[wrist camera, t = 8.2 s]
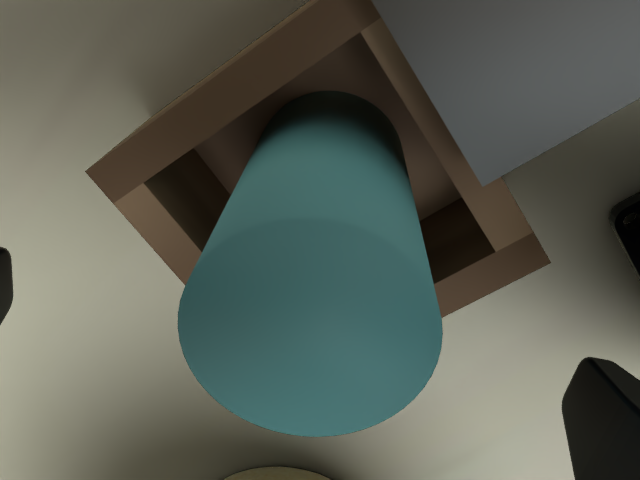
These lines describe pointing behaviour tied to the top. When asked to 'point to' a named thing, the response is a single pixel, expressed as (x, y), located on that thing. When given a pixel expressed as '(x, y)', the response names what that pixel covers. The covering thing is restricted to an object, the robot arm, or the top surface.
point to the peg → (316, 278)
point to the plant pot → (276, 474)
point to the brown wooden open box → (395, 119)
